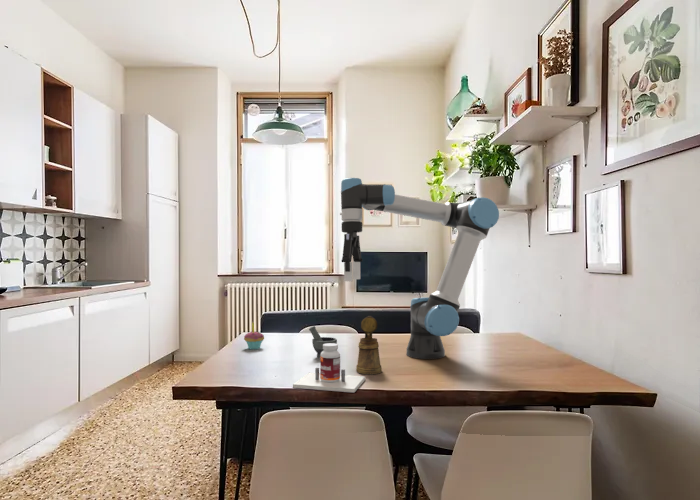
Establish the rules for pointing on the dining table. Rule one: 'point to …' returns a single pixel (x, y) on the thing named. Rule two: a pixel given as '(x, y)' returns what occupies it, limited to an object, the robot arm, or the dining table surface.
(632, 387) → the dining table surface
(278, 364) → the dining table surface
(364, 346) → the brown ball-topped piece
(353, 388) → the pin tray
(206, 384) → the dining table surface
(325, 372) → the pill bottle
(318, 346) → the mortar and pestle
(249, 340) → the cupcake
